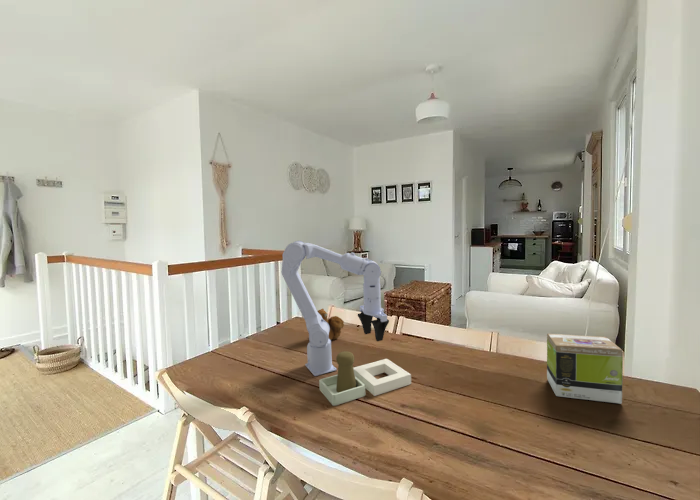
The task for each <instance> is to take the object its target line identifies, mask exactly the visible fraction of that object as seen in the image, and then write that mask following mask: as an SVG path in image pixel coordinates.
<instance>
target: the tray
mask: <svg viewBox="0 0 700 500" xmlns="http://www.w3.org/2000/svg"><path fill="white" fill-rule="evenodd" d="M337 376H338V373H337V374H334V375H331V376H327V377H323V378H320V379H319V380H318V383H319V391H320V392H321V393H322V394H323V396H324V397H325V398H326V399H327V401H328V402H329V403H330V404H331V405H332V406H334V407H335V406H339V405H340V404H341V405H342V404H344V403H348V402H351V401H354V400H356V399H360V398H363V397H365V396H366V388H365V384H363V383H362V382H361V381H360V380H359V379H358V378H357V377H355V381H356V386H357V387H355V388H352V389H349V390H345V391H342V392H339V393H338V392H337V391H336V387H337Z"/></svg>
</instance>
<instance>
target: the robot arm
mask: <svg viewBox="0 0 700 500" xmlns="http://www.w3.org/2000/svg"><path fill="white" fill-rule="evenodd" d="M281 255H282V264H281V276H282V278H283V279H284V281H285V283H286V285H287V287H288V290H289V291H290V293H291V295H292V297H293V299H294V301H295V303H296V305H297V307H298V310H299V312H300V313H301V315H302V317H303V319H304V321H305V325H306V326H305V327H306V330H307V332H308V340H309V341H308V343H307V346H306V353H307V354H306V357H307V362H306V363H305V364H304V366H305V367H306V368H307V369H308V370H309V372H311V373H312V375H313V376H314V377H317V376H321V375H324V374H328V373H331V372H335V371H338V368H337V367H335V366H334V365H333V358H332V355H333V354H332V340H330V339H329V331H330V326H329V324H328V323H327V322H326V321H324V320H323V318H322V316H321V315H320V314H319V313H318V310H317V307H316V305H315V304H314V301H313V299H312V297H311V296H310V294H309V291H308V288H307V287H306V286H305V284H304V282H303V279H302V277H301V275H300V273H299V269H300V267H301V264H302V261H303V260H304V259H305V258H306V260H307V259H312V258H319V259H321V260H325V261H328V262H331V263H335V264H337V265H339V266H340V268H341V270H344V271H347V272H349V273H352V274H355V275H357V276H363V284H362V286H363V287H362V288H363V290H362V292H363V293H362V294H363V304H362V305H359V306H358V307H359V312H360V313H357V317H358V318H359V320H360V323H361V326H362V329H363V333H364V335H370V334H371V333H372V328H373V330H374V336H375V341H376V342H381V341H383V340H384V337H385V336H384V335H385V332H386V329H387V326H388V325H389V322H390V319H388V315H387V314H386V313H385V310H384V308H383V307H382V303H381V302H382V295H381V282H380V281H381V278H380V277H381V275H382V271H381V267H380V265H379V264H378V263H377V262H376V261H374V260H372V259H369V258H368V257H365V258H363V257H362V256H357V255H356V254H355V252H350V253H349V252H346V253H344V254H341V253H338V252H335V251H333V250H331V249H327V248H325V247H322V246H320V245H317V244H314V243H311V242H304V241H302V240H295V241H293V242H291V243H289V244H287V246H286V247H285V249H284V251H283V253H282V254H281ZM373 318H376V319H373ZM372 326H373V327H372Z"/></svg>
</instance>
